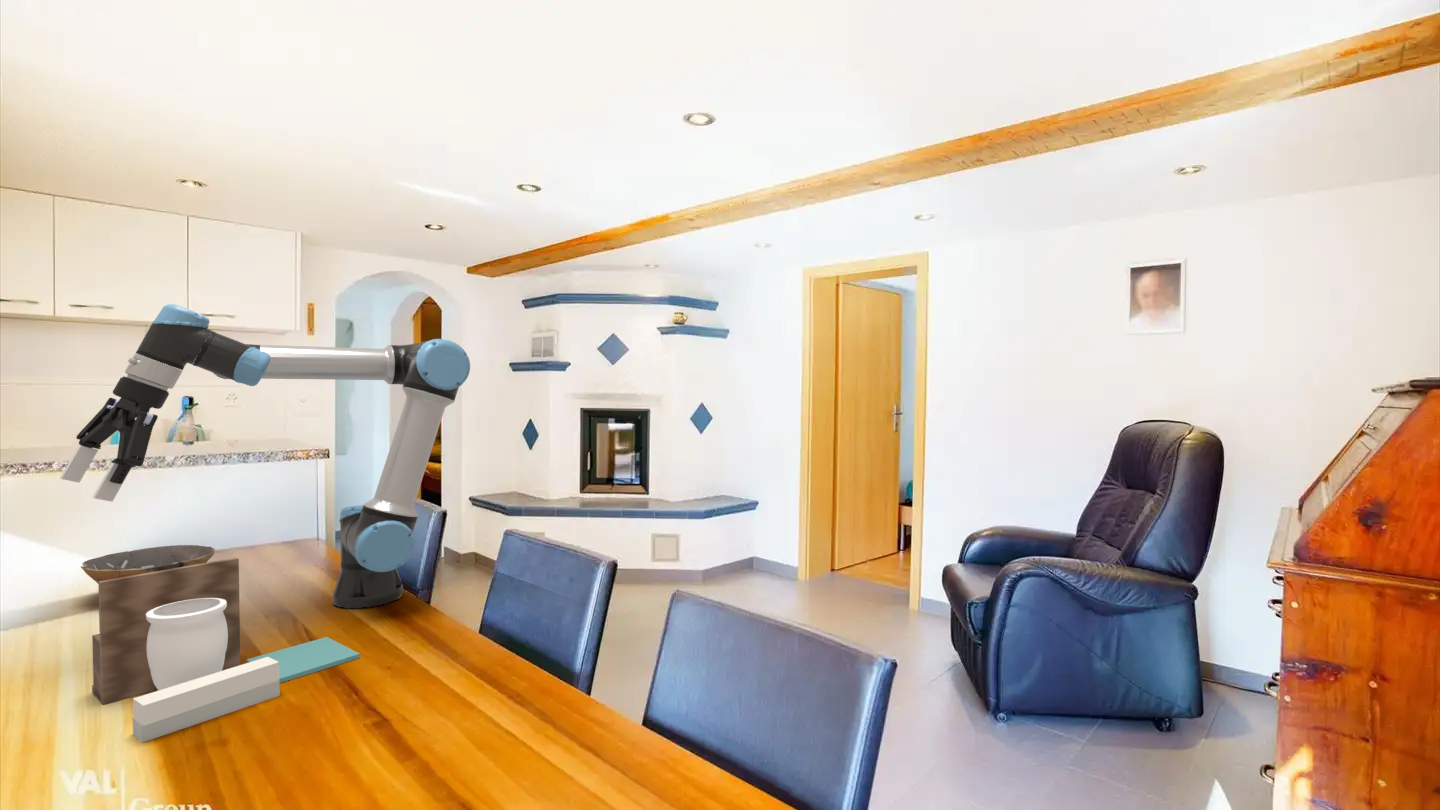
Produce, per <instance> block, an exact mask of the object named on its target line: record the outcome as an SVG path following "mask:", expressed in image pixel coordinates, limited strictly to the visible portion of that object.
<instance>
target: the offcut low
mask: <svg viewBox="0 0 1440 810" xmlns="http://www.w3.org/2000/svg"><path fill="white" fill-rule="evenodd" d="M280 684H281V683H280V682H279V680H277V681H274V682H271V683H268V684H265V685H262V686H259V687H256V688H254V689H251V690H248V691H245V692H242V693H239V694H236V695H233V696H230V697H227V698H224V699H221V700H218V701H215V702H213V703H210V704H207V705H204V706H201V707H198V708H195V709H192V710H189V711H186V712H183V713H180V714H177V715H174V716H172V717H169V718H166V719H163V720H160V721H157V722H154V723H151V724H148V725H145V726H143V725H142V724H140V723H139V722H138V721H136V720H135V719H134V718H133V717H132V735H133V736H134V737H135V738H136V739H137V740H138V741H139V742H140V743H141V744H142V743H145V742H149V741H151V740H153V739H154V740H155V739H157V738H159V737H162V736H166V735H169V734H172V733H174V732H178V731H180V730H183V729H187V728H190V727H193V726H194V725H195V726H196V725H198V724H202V723H203V722H206V721H210V720H213V719H216V718H218V717H221V716H224V715H227V714H230V713H233V712H236V711H240V710H242V709H245V708H249V707H250V706H254V705H257V704H259V703H262V702H265V701H268V700H272V699H275V698H277V697H280V695H281V694H280V692H281V691H280V689H281V688H280Z"/></svg>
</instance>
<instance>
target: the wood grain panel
mask: <svg viewBox="0 0 1440 810" xmlns="http://www.w3.org/2000/svg"><path fill="white" fill-rule="evenodd" d="M239 563H240V558H239V557H230V558H225V559H219V560H215V561H209V562H208V561H207V562H206V563H202V564H196V565H190V566H185V567H179V568H173V569H167V570H162V571H156V572H150V573H144V574H139V575H133V576H127V577H121V578H116V579H110V580H104V581H98V583H97V584H98V585H97V586H98V616H99V618H98V621H99V624H98V625H99V630H98V631H99V633H97V634H96V633H95V634H92V636H91V637H92V641H91V642H92V674H93V675H92V681H93V682H92V684H93V685H91V693H92V694H93V696H95V697H97V698H96V699H97V700H98V701H99V702H100V704H101V705H102V706H104V705H108V704H111V703H115V702H118V701H121V700H126V699H128V698H129V699H130V698H132V697H133V698H134V697H136V696H139V695H144V694H146V693H151V692H154V691H158V689H157V688H156V686H155V685H154V683H153V680H152V677H151V670H150V667H149V664H148V659H147V650H146V647H147V636H148V631H149V628H150V625H151V623H150V622H148V621H147V619H146V613H147V612H148V611H150V610H152V609H154V608H156V607H159V606H162V605H166V604H170V603H174V602H179V601H184V600H191V599H199V598H220V599H224V600H226V603H227V607H226V609H225V610H224V611H223V613H224V615H225V618H226V623H227V629H228V642H227V649H226V653H225V660H224V665H223V669H222V671H223V670H226V669H230V668H233V667H236V666H239V665H241V634H240V633H241V630H240V629H241V626H240V625H241V624H240V623H241V618H240V616H241V613H240V612H241V611H240V564H239Z"/></svg>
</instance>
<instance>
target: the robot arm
mask: <svg viewBox="0 0 1440 810" xmlns="http://www.w3.org/2000/svg"><path fill="white" fill-rule="evenodd" d="M209 325H210V319H209V318H208V317H206V316H205V315H202V314H200V313H197V312H196V311H194V310H191V309H189V308H187V307H183V306H181V305H178V304H173V303H169V304H166V305H163V307H162V309H161V310H160V311H159V313H158V314H157V316H156V317H155V318H154V320H153V321H152V323H151V324H150V326H149V328H148V330H147V331H146V334H145V335H144V337H143V339H142V341H141V343H140V344H139V346H138V348H137V350H136V351H135V354H134V355H133V357H130V358H129V359H128V360H127V361H128V365H127V367H126V369H125V370H124V372H125V374H127V375H126V376H125V375H124V376H123V375H122V377H120V378H119V379H118V382H117V383H116V385H115V387H114V389H113V390H112V394H113V395H114V396H116V397H119V398H120V399H116V398H114V397H109V398H108V399H107V400H106V402H105V404H104V405H103V407H102V408H101V409H100V410H99V411H98V412H97V413H96V414H95V415H94V416H93V417H92V418H91V419H90V421H89V422H88V423H87V424H86V425H85V426H84V427H82V429H81V430H80V432H79V433H77V434H76V440H78V447H77V448H76V450H75V452H74V454H73V456H71V458H70V460H69V462H68V463H67V465H66V467H65V469H64V470H63V472H62V474H61V476H60V478H59V479H61V480H64V481H69V482H74V483H79V484H80V482H81V481H82V479H83V477H84V475H85V474H86V472H87V470H88V468H89V467H90V465H91V463H92V461H93V460H94V458H95V457H96V455H97V453H98V452H99V450H101V449H102V448H101V447H102V445H101V444H103V443H104V442H105V441H106V440H108V439H109V438H110V437H111V436H113V434H115V433H116V432H117V431H118V433H119V441H118V448H117V449H118V450H117V456H116V457H115V458H114V459H112V460H111V464H110V466H109V468H107V471H106V473H105V475H104V477H103V478H102V479H101V481H100V484H99V485H98V487H97V489H96V490H95V492H94V494H93V496H92V498H93V499H96V500H101V501H107V502H111V503H113V501H114V500H115V499H116V496H117V494H118V493H119V491H120V490H121V487H122V486H123V484H124V482H125V480H126V478H127V476H128V475H129V473H130V472H131V470H132V468H135V467H142V466H143V464H144V461H145V457H146V454H147V450H148V448H149V444H150V439H151V435H152V431H153V428H154V426H155V424H156V422H157V420H158V415H157V414H155V413H151V412H150V410H151V409H152V408H153V409H155V410H156V409H158V410H159V409H162V407H163V406H164V404H165V403H166V401H167V399H168V397H169V395H170V392H169V391H168V390H169V389H171V390H173V388H174V387H175V385H176V384H177V382H178V380H179V378H180V376H181V375H182V373H183V370H184V368H185V366H186V365H187V364H190V365H192V366H194V367H198V368H200V369H203V370H206V371H208V372H210V373H212V374H214V375H215V376H216V377H218V378H221V379H224V380H232V381H234V382H235V383H239V384H243V385H246V386H249V387H255V386H257V385H259V382H260V381H261V380H268V379H269V380H271V379H272V380H333V381H334V380H337V381H339V380H344V381H345V380H351V381H353V380H354V381H355V380H356V381H384V382H385V383H387V384H388V385H401V386H402V387H401V388H402V389H401V390H403V392H404V395H405V396H406V399H405V402H404V405H403V408H402V412H401V414H400V417H399V420H398V422H397V426H396V429H395V432H394V435H393V438H392V441H391V444H390V447H389V451H388V453H387V457H386V460H385V463H384V466H383V469H382V472H381V475H380V478H379V481H378V484H377V487H376V490H375V494H374V497H373V498H371V499H370V500H368V501H367V502H364V503H363V504H360V505H351V506H345V507H343V508H342V509H341V511H340V515H339V525H340V529H339V530H340V573H339V576H338V578H337V581H336V583H335V587H334V589H333V592H332V604H334V605H336V606H339V607H338V608H340V607H345V608H344V609H351V608H353V609H364V608H363V607H367V608H372V607H371V606H374V607H378V606H377V605H379V606H383V605H382V604H384V605H387V604H390V603H392V602H391V601H393V600H395V599H397V598H398V597H400V596H401V594H403V595H404V585H403V582H402V580H401V576H400V574H399V571H398V568H400V567H402V566H403V565H404V564H405V563H407V562H408V560H409V559H410V558H411V556H412V554H413V552H414V550H415V545H416V541H415V540H416V539H415V534H414V531H415V527H416V523H417V520H418V518H419V517H418V516H419V513H418V512H417V510H416V509H415V503H416V500H417V497H418V494H419V491H420V488H421V484H422V482H423V478H424V475H425V472H426V468H427V467H428V463H429V460H430V457H431V453H432V450H433V448H434V447H433V446H434V443H435V441H436V438H437V434H438V433H439V432H438V430H439V428H440V424H441V421H442V419H443V416H444V412H445V409H446V408H447V407H448V406H450V405H451V404H454V403H455V401H456V396H457V393H458V391H459V387H461V386H462V385H464V383H465V382H466V380H467V379H468V378H469V375H470V373H471V372H470V371H471V361H470V358H469V355H468V353H467V351H466V350H465V349H464V348H463V347H462V346H460V344H458V343H456V342H454V341H451V340H448V339H443V338H433V339H431V340H428V341H427V340H426V341H421V342H417V343H411V344H401V345H400V344H398V345H397V344H395V345H394V344H388V345H387V346H385V347H384V348H369V347H368V348H367V347H365V348H364V347H363V348H361V347H340V346H339V347H337V346H336V347H334V346H333V347H332V346H309V345H307V346H304V345H277V344H276V345H275V344H274V345H273V344H271V345H270V344H253V343H252V344H251V343H249V344H248V343H247V344H246V343H243V342H240V341H239V340H236V339H233V338H230V337H227V336H225V335H224V334H223V335H222V334H220V333H217V332H215V331H213V330H212V329H209ZM389 602H390V603H389ZM393 602H394V601H393ZM386 603H387V604H386ZM334 605H333V606H334ZM336 606H335V607H336ZM361 607H362V608H361Z"/></svg>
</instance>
